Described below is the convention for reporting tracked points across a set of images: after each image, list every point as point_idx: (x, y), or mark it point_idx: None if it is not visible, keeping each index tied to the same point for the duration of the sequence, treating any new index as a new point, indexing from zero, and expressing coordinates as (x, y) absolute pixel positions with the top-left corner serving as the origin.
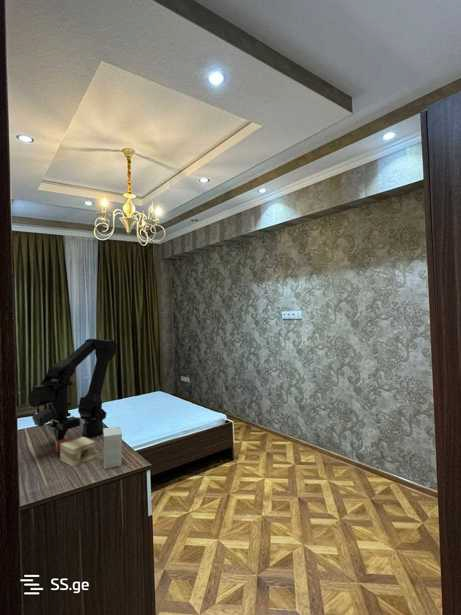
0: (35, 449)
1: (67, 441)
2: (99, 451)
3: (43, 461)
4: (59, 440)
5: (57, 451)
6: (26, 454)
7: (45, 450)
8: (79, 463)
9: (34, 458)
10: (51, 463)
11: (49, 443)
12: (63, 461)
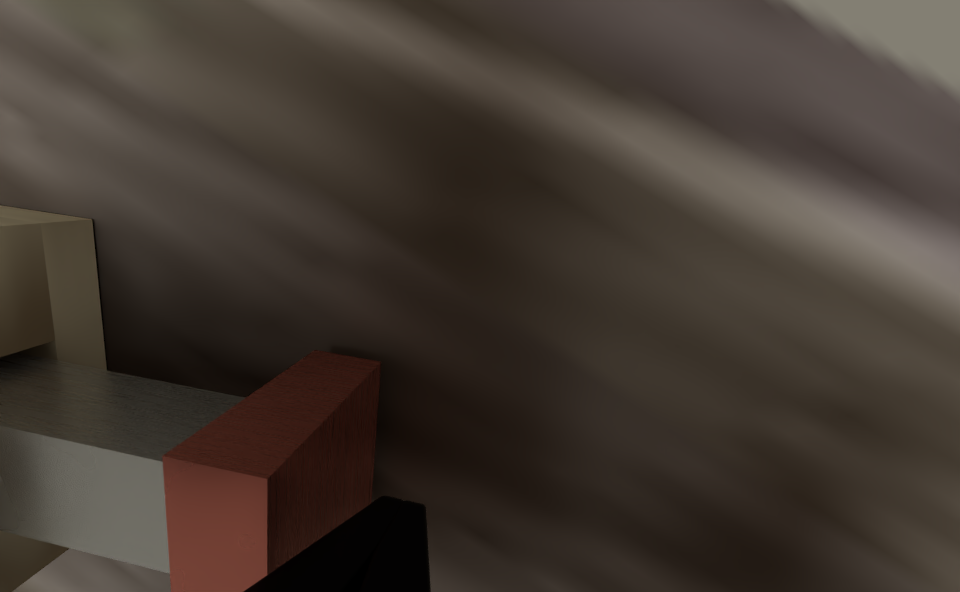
0: (880, 303)
1: (167, 568)
2: None
3: (245, 65)
4: (170, 499)
5: (312, 356)
6: (832, 70)
7: (640, 351)
8: None
9: (492, 50)
10: (86, 90)
11: (865, 568)
12: (1, 206)
